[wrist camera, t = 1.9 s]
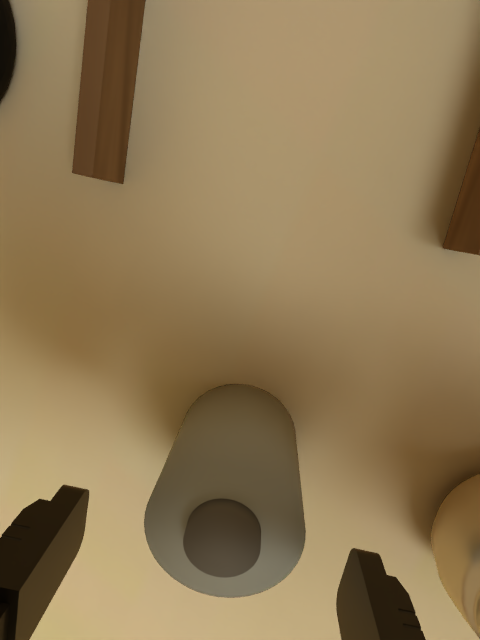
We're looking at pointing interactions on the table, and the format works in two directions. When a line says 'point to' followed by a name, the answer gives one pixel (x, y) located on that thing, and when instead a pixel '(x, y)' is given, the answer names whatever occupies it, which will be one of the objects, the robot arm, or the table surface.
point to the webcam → (6, 45)
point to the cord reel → (229, 496)
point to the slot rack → (117, 100)
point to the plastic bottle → (460, 548)
